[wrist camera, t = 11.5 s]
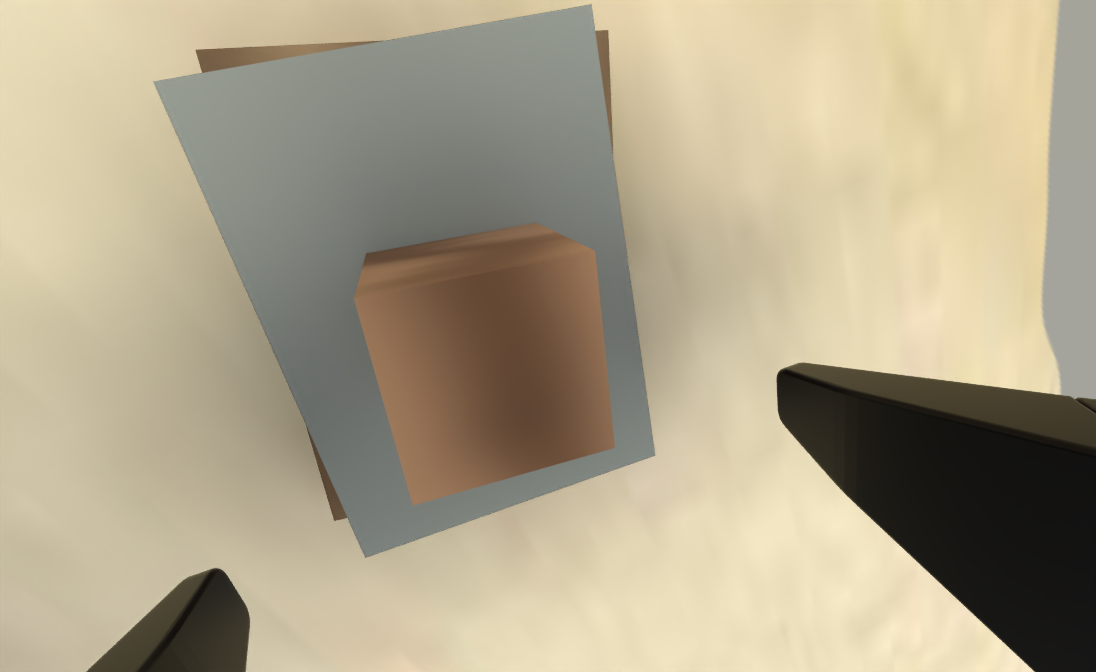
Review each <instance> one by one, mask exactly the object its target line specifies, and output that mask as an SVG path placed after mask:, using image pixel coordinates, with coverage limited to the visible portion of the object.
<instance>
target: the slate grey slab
mask: <svg viewBox="0 0 1096 672" xmlns="http://www.w3.org/2000/svg"><path fill="white" fill-rule="evenodd" d="M154 84H155V87H156V89H157V91H158V93H159V96H160V98H161V100H162V102H163V105H164V107H165V109H166V111H167V114H168V116H169V118H170V120H171V123H172V125H173V127H174V129H175V132H176V134H177V136H178V138H179V141H180V143H181V145H182V147H183V149H184V152H185V154H186V156H187V158H188V161H189V163H190V165H191V167H192V170H193V172H194V174H195V176H196V179H197V181H198V183H199V185H200V188H201V190H202V192H203V194H204V197H205V199H206V201H207V203H208V206H209V208H210V210H211V212H212V215H213V217H214V219H215V221H216V224H217V226H218V228H219V230H220V233H221V235H222V237H223V239H224V242H225V244H226V246H227V248H228V251H229V253H230V255H231V257H232V259H233V262H234V264H235V266H236V268H237V271H238V273H239V275H240V277H241V280H242V282H243V284H244V286H245V289H246V291H247V293H248V295H249V298H250V300H251V302H252V304H253V307H254V309H255V311H256V313H257V316H258V318H259V320H260V322H261V325H262V327H263V329H264V331H265V334H266V336H267V338H268V340H269V343H270V345H271V347H272V349H273V352H274V354H275V356H276V358H277V361H278V363H279V365H280V367H281V369H282V372H283V374H284V376H285V378H286V381H287V383H288V385H289V387H290V390H291V392H292V394H293V396H294V399H295V401H296V403H297V405H298V408H299V410H300V412H301V414H302V417H303V419H304V421H305V423H306V426H307V428H308V430H309V432H310V435H311V437H312V439H313V441H314V444H315V446H316V448H317V450H318V453H319V455H320V457H321V459H322V462H323V464H324V466H325V468H326V471H327V473H328V475H329V477H330V479H331V482H332V484H333V486H334V488H335V491H336V493H337V495H338V497H339V500H340V502H341V504H342V506H343V509H344V511H345V513H346V515H347V518H348V520H349V522H350V524H351V527H352V529H353V531H354V533H355V536H356V538H357V540H358V542H359V545H360V547H361V549H362V551H363V554H364V556H365V558H366V557H369V556H372V555H375V554H378V553H380V552H383V551H386V550H389V549H392V548H395V547H397V546H400V545H403V544H406V543H409V542H412V541H414V540H417V539H420V538H423V537H426V536H429V535H431V534H434V533H437V532H440V531H443V530H446V529H448V528H451V527H454V526H457V525H460V524H462V523H465V522H468V521H471V520H474V519H477V518H479V517H482V516H485V515H488V514H491V513H494V512H496V511H499V510H502V509H505V508H508V507H511V506H513V505H516V504H519V503H522V502H525V501H528V500H530V499H533V498H536V497H539V496H542V495H544V494H547V493H550V492H553V491H556V490H559V489H561V488H564V487H567V486H570V485H573V484H576V483H578V482H581V481H584V480H587V479H590V478H593V477H595V476H598V475H601V474H604V473H607V472H610V471H612V470H615V469H618V468H621V467H624V466H626V465H629V464H632V463H635V462H638V461H641V460H643V459H646V458H649V457H652V456H655V450H654V443H653V436H652V429H651V422H650V415H649V408H648V401H647V394H646V387H645V379H644V372H643V365H642V358H641V351H640V344H639V337H638V330H637V323H636V316H635V309H634V302H633V295H632V288H631V281H630V274H629V266H628V259H627V252H626V245H625V238H624V231H623V224H622V217H621V210H620V203H619V196H618V189H617V182H616V175H615V168H614V160H613V153H612V146H611V139H610V132H609V125H608V118H607V111H606V104H605V97H604V90H603V83H602V76H601V69H600V62H599V55H598V47H597V40H596V33H595V26H594V19H593V12H592V5H585V6H580V7H574V8H568V9H563V10H557V11H551V12H546V13H540V14H534V15H529V16H523V17H517V18H512V19H506V20H500V21H495V22H489V23H483V24H478V25H472V26H466V27H461V28H455V29H449V30H443V31H438V32H432V33H426V34H421V35H415V36H409V37H404V38H398V39H392V40H387V41H381V42H375V43H370V44H364V45H358V46H353V47H347V48H341V49H336V50H330V51H324V52H319V53H313V54H307V55H302V56H296V57H290V58H285V59H279V60H273V61H268V62H262V63H256V64H251V65H245V66H239V67H234V68H228V69H222V70H217V71H211V72H205V73H200V74H194V75H188V76H183V77H177V78H171V79H165V80H160V81H154ZM532 223H538V224H540V225H542V226H545V227H547V228H549V229H551V230H553V231H555V232H557V233H559V234H561V235H563V236H565V237H567V238H570V239H572V240H574V241H576V242H578V243H580V244H582V245H584V246H586V247H588V248H590V249H593V250H595V254H596V264H597V274H598V284H599V294H600V304H601V314H602V323H603V333H604V343H605V353H606V363H607V373H608V383H609V393H610V403H611V413H612V423H613V433H614V442H615V448H613V449H609V450H606V451H602V452H599V453H595V454H592V455H588V456H585V457H581V458H578V459H574V460H571V461H567V462H564V463H560V464H557V465H553V466H550V467H546V468H543V469H539V470H536V471H532V472H529V473H525V474H522V475H518V476H515V477H511V478H508V479H504V480H501V481H497V482H494V483H490V484H487V485H483V486H480V487H476V488H473V489H469V490H466V491H462V492H459V493H455V494H452V495H448V496H445V497H441V498H438V499H434V500H431V501H427V502H424V503H420V504H417V505H412V501H411V498H410V494H409V491H408V487H407V484H406V480H405V477H404V473H403V470H402V466H401V463H400V459H399V456H398V452H397V449H396V445H395V442H394V438H393V435H392V431H391V428H390V424H389V420H388V417H387V413H386V410H385V406H384V403H383V399H382V396H381V392H380V389H379V385H378V382H377V378H376V375H375V371H374V368H373V364H372V361H371V357H370V354H369V350H368V347H367V343H366V340H365V336H364V333H363V329H362V326H361V322H360V319H359V315H358V311H357V308H356V304H355V301H354V296H355V292H356V289H357V285H358V281H359V278H360V274H361V270H362V267H363V263H364V259H365V256H366V253H371V252H377V251H382V250H388V249H393V248H399V247H404V246H410V245H415V244H421V243H426V242H432V241H437V240H443V239H448V238H454V237H460V236H465V235H471V234H476V233H482V232H487V231H493V230H498V229H504V228H509V227H515V226H521V225H526V224H532Z"/></svg>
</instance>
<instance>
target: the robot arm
mask: <svg viewBox="0 0 1096 672" xmlns="http://www.w3.org/2000/svg"><path fill="white" fill-rule="evenodd" d="M777 401H778V413H779V417H780V419H781V421H782V423H783V424H784V426H785V427H786V428H787V429H788V430H789V432H790V433H791V434H792V435H793V436H794V437H795V438H796V440H797V441H798V442H799V443H800V444H801V445H802V446H803V447H804V449H805V450H806V451H807V452H808V453H809V454H810V455H811V457H812V458H813V459H814V460H815V461H816V462H817V463H818V464H819V466H820V467H821V468H822V469H823V470H824V471H825V472H826V474H827V475H828V476H829V477H830V478H831V479H832V480H833V481H834V483H835V484H836V485H837V486H838V487H839V488H840V489H841V490H842V491H843V492H844V493H845V494H846V495H847V496H848V497H849V498H850V499H851V500H852V501H853V502H854V503H855V504H856V505H857V506H858V507H859V508H860V509H861V510H862V511H864V512H865V513H866V514H867V515H868V516H869V517H870V518H871V519H872V520H873V521H874V522H875V523H876V524H877V525H879V526H880V527H881V528H882V529H883V530H884V531H885V532H886V533H887V534H888V535H889V536H890V537H891V538H892V539H893V540H895V541H896V542H897V543H898V544H899V545H900V546H901V547H902V548H903V549H904V550H905V551H906V552H907V553H908V554H909V555H911V556H912V557H913V558H914V559H915V560H916V561H917V562H918V563H919V564H920V565H921V566H922V567H923V568H924V569H926V570H927V571H928V572H929V573H930V574H931V575H932V576H933V577H934V578H935V579H936V580H937V581H938V582H939V583H940V584H942V585H943V586H944V587H945V588H946V589H947V590H948V591H949V592H950V593H951V594H952V595H953V596H954V597H955V598H956V599H958V600H959V601H960V602H961V603H962V604H963V605H964V606H965V607H966V608H967V609H968V610H969V611H970V612H971V613H973V614H974V615H975V616H976V617H977V618H978V619H979V620H980V621H981V622H982V623H983V624H984V625H985V626H986V627H987V628H989V629H990V630H991V631H992V632H993V633H994V634H995V635H996V636H997V637H998V638H999V639H1000V640H1001V641H1002V642H1004V643H1005V644H1006V645H1007V646H1008V647H1009V648H1010V649H1011V650H1012V651H1013V652H1014V653H1015V654H1016V655H1017V656H1018V657H1020V658H1021V659H1022V660H1023V661H1024V662H1025V663H1026V664H1027V665H1028V666H1029V667H1030V668H1031V669H1032V670H1033V671H1034V672H1096V399H1088V398H1076V399H1074V398H1072V397H1070V396H1063V395H1055V394H1048V393H1040V392H1032V391H1024V390H1016V389H1008V388H1000V387H992V386H984V385H976V384H968V383H961V382H953V381H945V380H937V379H929V378H921V377H913V376H905V375H897V374H889V373H881V372H874V371H866V370H858V369H850V368H842V367H834V366H826V365H818V364H810V363H797V364H795V365H792V366H789V367H786V368H783V369H781V370H780V371H779V372H778V374H777ZM249 629H250V617H249V612H248V609H247V607H246V605H245V603H244V602H243V600H242V598H241V597H240V595H239V594H238V592H237V590H236V589H235V587H234V586H233V584H232V582H231V581H230V579H229V578H228V576H227V575H226V573H225V572H224V571H223V570H221V569H218V568H213V569H210V570H207V571H204V572H202V573H199V574H196V575H193V576H190V577H188V578H186V579H184V580H183V581H182V582H181V583H180V584H179V585H178V586H177V587H176V588H174V589H173V590H172V591H171V592H170V593H169V594H168V595H167V596H166V597H165V598H164V599H163V600H162V601H161V602H160V603H159V604H158V605H156V606H155V607H154V608H153V609H152V610H151V611H150V612H149V613H148V614H147V615H146V616H145V617H144V618H143V619H142V620H141V621H140V622H138V623H137V624H136V625H135V626H134V627H133V628H132V629H131V630H130V631H129V632H128V633H127V634H126V635H125V636H124V637H123V638H122V639H120V640H119V641H118V642H117V643H116V644H115V645H114V646H113V647H112V648H111V649H110V650H109V651H108V652H107V653H106V654H105V655H104V656H102V657H101V658H100V659H99V660H98V661H97V662H96V663H95V664H94V665H93V666H92V667H91V668H90V669H89V670H88V671H87V672H246V662H247V651H248V640H249Z"/></svg>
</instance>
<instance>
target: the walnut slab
mask: <svg viewBox="0 0 1096 672" xmlns="http://www.w3.org/2000/svg"><path fill="white" fill-rule="evenodd" d="M595 33H596V40H597V47H598V55H599V62H600V69H601V76H602V83H603V90H604V97H605V104H606V111H607V118H608V125H609V132H610V139H611V146H612V153H613V141H612V115H611V90H610V64H609V39H608V30H602V31H595ZM375 42H381V41H371V42H350V43H329V44H308V45H287V46H266V47H245V48H224V49H203V50H196V53H197V56H198V60H199V63H200V67H201V70H202V73H205V72H211V71H217V70H222V69H228V68H234V67H239V66H245V65H251V64H256V63H262V62H268V61H273V60H279V59H285V58H290V57H296V56H302V55H307V54H313V53H319V52H324V51H330V50H336V49H341V48H347V47H353V46H358V45H364V44H370V43H375ZM306 427H307V426H306ZM307 430H308V428H307ZM308 433H309V437H310V440H311V443H312V447H313V450H314V454H315V457H316V460H317V464H318V467H319V471H320V474H321V477H322V481H323V484H324V488H325V491H326V494H327V498H328V501H329V505H330V508H331V511H332V515H333V518H334V521H336V520H340V519H344V518H347V515H346V513H345V511H344V509H343V506H342V504H341V502H340V500H339V497H338V495H337V493H336V491H335V488H334V486H333V484H332V482H331V479H330V477H329V475H328V473H327V471H326V468H325V466H324V464H323V462H322V459H321V457H320V455H319V453H318V450H317V448H316V446H315V444H314V441H313V439H312V437H311V435H310V432H309V430H308Z"/></svg>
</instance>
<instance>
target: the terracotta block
mask: <svg viewBox="0 0 1096 672" xmlns="http://www.w3.org/2000/svg"><path fill="white" fill-rule="evenodd" d="M354 301H355V304H356V308H357V311H358V315H359V319H360V322H361V326H362V329H363V333H364V336H365V340H366V343H367V347H368V350H369V354H370V357H371V361H372V364H373V368H374V371H375V375H376V378H377V382H378V385H379V389H380V392H381V396H382V399H383V403H384V406H385V410H386V413H387V417H388V420H389V424H390V428H391V431H392V435H393V438H394V442H395V445H396V449H397V452H398V456H399V459H400V463H401V466H402V470H403V473H404V477H405V480H406V484H407V487H408V491H409V494H410V498H411V501H412V505H417V504H420V503H424V502H427V501H431V500H434V499H438V498H441V497H445V496H448V495H452V494H455V493H459V492H462V491H466V490H469V489H473V488H476V487H480V486H483V485H487V484H490V483H494V482H497V481H501V480H504V479H508V478H511V477H515V476H518V475H522V474H525V473H529V472H532V471H536V470H539V469H543V468H546V467H550V466H553V465H557V464H560V463H564V462H567V461H571V460H574V459H578V458H581V457H585V456H588V455H592V454H595V453H599V452H602V451H606V450H609V449H613V448H615V442H614V433H613V423H612V413H611V403H610V393H609V383H608V373H607V363H606V353H605V343H604V333H603V323H602V314H601V304H600V294H599V284H598V274H597V264H596V254H595V250H593V249H590V248H588V247H586V246H584V245H582V244H580V243H578V242H576V241H574V240H572V239H570V238H567V237H565V236H563V235H561V234H559V233H557V232H555V231H553V230H551V229H549V228H547V227H545V226H542V225H540V224H538V223H532V224H526V225H521V226H515V227H509V228H504V229H498V230H493V231H487V232H482V233H476V234H471V235H465V236H460V237H454V238H448V239H443V240H437V241H432V242H426V243H421V244H415V245H410V246H404V247H399V248H393V249H388V250H382V251H377V252H371V253H366V256H365V259H364V263H363V267H362V270H361V274H360V278H359V281H358V285H357V289H356V292H355V296H354Z"/></svg>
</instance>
